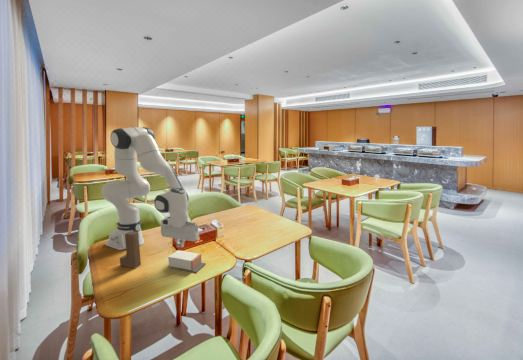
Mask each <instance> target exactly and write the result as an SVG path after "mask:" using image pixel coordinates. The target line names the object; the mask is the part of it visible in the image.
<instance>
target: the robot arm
mask: <svg viewBox="0 0 523 360" xmlns="http://www.w3.org/2000/svg"><path fill="white" fill-rule="evenodd" d="M155 138H156V137H155V133H154V131H153V130H152V129H151V128H149V127H145V126H142V127H141V126H140V127H139V126H131V127H125V128H124V127H123V128H116V129H113V130H112V131H111V133H110V142H111V144H112V146H113V147H114V150H113V151H114V153H113V155H114V170H115V172H116V173H117V174H118V175H121V176H123V177H126V179H125V180H117V181H111V182H107V183H105V184H103V185H102V187H101V191H100V192H101V195H102V198H104V200H105V201H106V202H109V203H111V204H112V205H113V206H114V207H115V209H116V210H117V215H118V222H117V223H115V226H117V227H116V228H115V229H114V230H113V231H111V232H110V234H109V235H108V240H107V241H105V242H104V246H107V247H110V248H112V249H116V250H119V251H122V250H126V241H125V234H126V233H128V232H130V231H136V232H138V235H139V247H140V246H142V245H143V244H144V243H145V240H144V236H143V231H142V228H141V227H142V222H141V221H142V220H141V219H140V209H139V206H137V205H136V204H132V203H129V201H128V200H130V199H135V198H142V197H144V196H147V195H149V193H150V191H151V185H150V184H151V183H149V181H148V180H146V179H145V178H144V177H142V175H141V174H140V173H139V171H138V162H139V163H140V166H141V168H142V169H144V170H145V171H148V172H149V173H154V174H158V175H160V176H162V177H163V178H164V179H165V181H166V182H167V184H168V186H169V188H170V189H169V190H168V191H165V192H164V193H160V194H158V195H156V196H155V198H154V202H153V203H154V208H155V209H156V211H158V212H159V213H163V214H164V213H165V214H166V213H169V216H167V217H164V218H162V219H161V221H160V223H161V226H160V235H161V236H162V238H163V237H165V238H170V239H174V242H175V243H176V247H179V248H184V246H185V242H186V241H189V242H196V241H198V240H199V238H200V233H199V232H200V231H199V225H198V224H197V223H196V222H195V221H194V222H192V221H189V220H190V219H189V211H188V207H189V199H190V198H189V194H188V192H187V191H186V190H185V189H184V187H183V185H182V183H181V182H180V180H179V178H178V176H177V174H176V172H175V170H174V168H173V166H172V165H171V164H170V162H168V161H166V159H165V158H164V157H163V155H162V153H161V150H160V148H159V145H158V143H157V142H156V140H155ZM137 159H138V162H137Z"/></svg>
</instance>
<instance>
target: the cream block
mask: <svg viewBox="0 0 523 360" xmlns="http://www.w3.org/2000/svg"><path fill="white" fill-rule="evenodd" d="M167 258H168V266H169V267H171V266H172V267H177V268H182V269H187V270H192V271H193V270H194V269H195V268H197V267H198V266H199V265H200V264H201V263H202V253H197V252H196V253H195V252H192V251H191V252H190V251H186V250H185V251H184V250H180V249H177V250H176V251H175V252H173V253H171V254H170V255H169V256H168V257H167Z"/></svg>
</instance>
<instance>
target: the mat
mask: <svg viewBox="0 0 523 360" xmlns="http://www.w3.org/2000/svg"><path fill="white" fill-rule="evenodd" d="M205 266H206V262H201V264H200V265H199V266H198V267H197V268H195V269H194V270H193V271H192V270H187V269H182V268H177V267H172V266H169V267H170V269H174V270H178V271H179V270H180V271H184V272H185V271H186V272H189V273H195V274H198V272H199V271H200V270H202V269H203V267H205Z"/></svg>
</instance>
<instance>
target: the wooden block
mask: <svg viewBox="0 0 523 360" xmlns="http://www.w3.org/2000/svg"><path fill="white" fill-rule="evenodd" d="M125 241H126V249H125V251H126V254H125V255H122V256H121V257H119V264H120V267H125V268H129V269H130V268H131V269H136V268H138V267H140V266H141V265H142V262H141V249H140V246H139V235H138V232H136V231H130V232H128V233H126V234H125Z"/></svg>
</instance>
